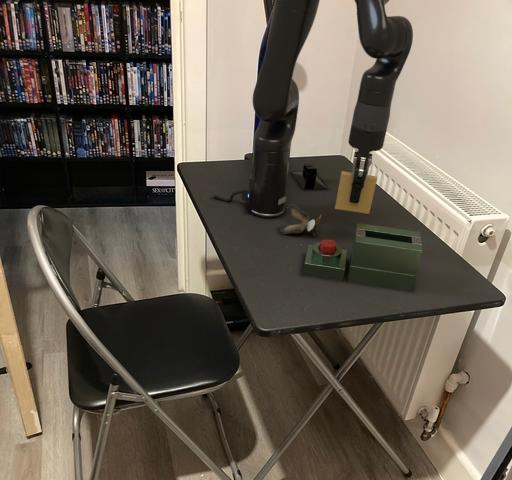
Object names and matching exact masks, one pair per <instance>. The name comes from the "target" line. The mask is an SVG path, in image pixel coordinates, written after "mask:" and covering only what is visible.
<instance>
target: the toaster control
mask: <svg viewBox="0 0 512 480" xmlns="http://www.w3.org/2000/svg"><path fill="white" fill-rule="evenodd" d="M320 242H321V241H318V242H315V243H313V244H310V243H309V244H307V249H306V253H305V258H304V262H303V270H302V276H309V277H316V278H320V279H321V278H322V279H328V280H335V281H340V282H343V281H344V278H345V271H346V263H347V255H348V249H344V248H342V247H341V245H339V244H337V243H336V250H335V252H334V253H324V252H322V251H320V250H319V247H320Z"/></svg>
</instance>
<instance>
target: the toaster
mask: <svg viewBox="0 0 512 480" xmlns="http://www.w3.org/2000/svg"><path fill="white" fill-rule="evenodd" d="M422 254H423V244H422V236H421V231H415V230H410V229H403V228H402V229H401V228H395V227H388V226H381V225H380V226H379V225H375V224H367V223H360V222H356V226H355V230H354V236H353V241H352V245H351V251H350V256H349V261H348V272H347V282H348V283H354V284H362V285H367V286H374V287H381V288H387V289H393V290H401V291H406V292H407V291H408V292H412V289H413V286H414V283H415V280H416V276H417V273H418V268H419V265H420V261H421V258H422Z"/></svg>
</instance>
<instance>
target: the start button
mask: <svg viewBox="0 0 512 480" xmlns="http://www.w3.org/2000/svg"><path fill="white" fill-rule="evenodd" d="M319 242H320V247H319V250H320V251H322V252H324V253H334V252H335V250H336V244H337V242H336V241H335V240H333V239H328V238H327V239H321V240H320V241H319Z"/></svg>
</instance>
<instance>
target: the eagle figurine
mask: <svg viewBox="0 0 512 480" xmlns="http://www.w3.org/2000/svg"><path fill="white" fill-rule="evenodd" d="M286 212H287V214H289V215H290V216H291V217H292V219H294V220H296V221H298V222H299V223H297V224H290V225H287V226H284V227H282V228H280V230H279V231H280V232H281V234H284V235H289V234H300V233H303V232H304V231H305V230H307V232H311V234H312V236H313V237H314V238H315V237H316V232H317V231H318V228H319V225H320V222H321V219H322V216H323V214H322V213H321V214H320V215H319V216H317V217H316V219H315V218H314V219H311V220H310V217H309V214H308V213H307V212H305V211H303V210H302V209H301V208H300V207H299V205H298V204H295V203H290V204H289V205H288V206H287V207H286Z"/></svg>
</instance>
